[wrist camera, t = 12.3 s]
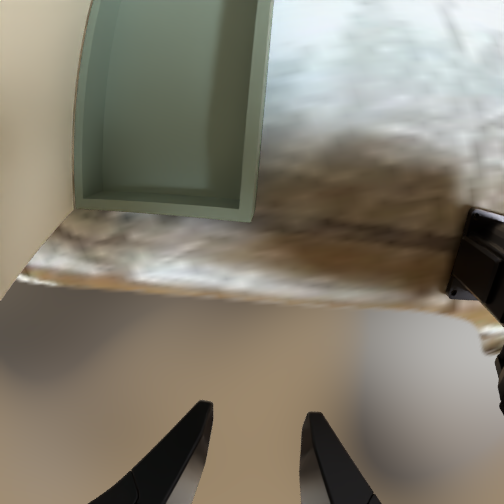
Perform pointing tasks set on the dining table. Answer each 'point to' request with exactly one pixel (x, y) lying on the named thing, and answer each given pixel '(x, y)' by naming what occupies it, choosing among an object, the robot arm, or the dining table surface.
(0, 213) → the lid flap
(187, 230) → the dining table surface
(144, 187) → the carton
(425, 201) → the dining table surface
